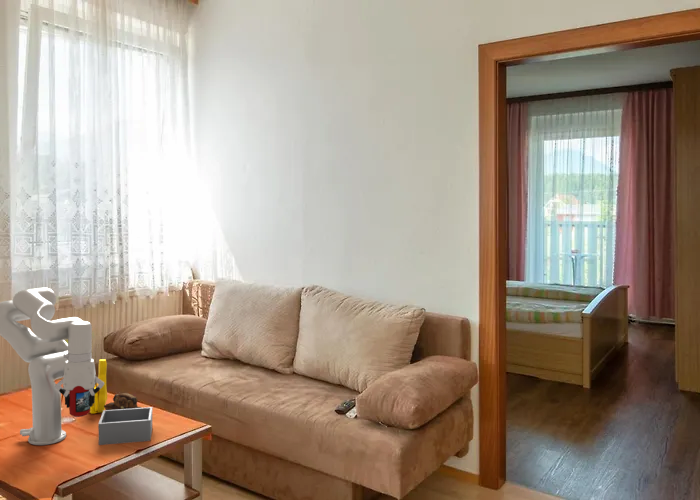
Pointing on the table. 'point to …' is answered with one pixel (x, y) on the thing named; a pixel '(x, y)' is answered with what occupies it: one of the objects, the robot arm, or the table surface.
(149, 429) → the gray open storage box
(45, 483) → the table surface
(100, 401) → the figure statuette
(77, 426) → the table surface
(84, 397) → the beverage can
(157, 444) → the table surface
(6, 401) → the table surface
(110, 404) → the wooden carving
